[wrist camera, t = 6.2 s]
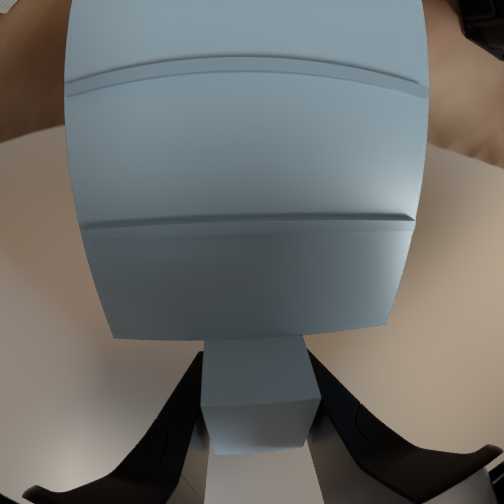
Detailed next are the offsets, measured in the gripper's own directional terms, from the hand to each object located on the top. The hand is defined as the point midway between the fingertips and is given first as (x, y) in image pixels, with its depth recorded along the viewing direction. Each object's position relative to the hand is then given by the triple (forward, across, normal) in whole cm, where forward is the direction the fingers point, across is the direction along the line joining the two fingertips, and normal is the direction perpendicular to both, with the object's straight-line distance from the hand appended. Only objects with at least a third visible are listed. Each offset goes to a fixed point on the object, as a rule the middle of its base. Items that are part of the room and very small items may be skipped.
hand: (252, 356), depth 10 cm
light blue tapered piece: (+1, 0, -5) cm, 6 cm away
